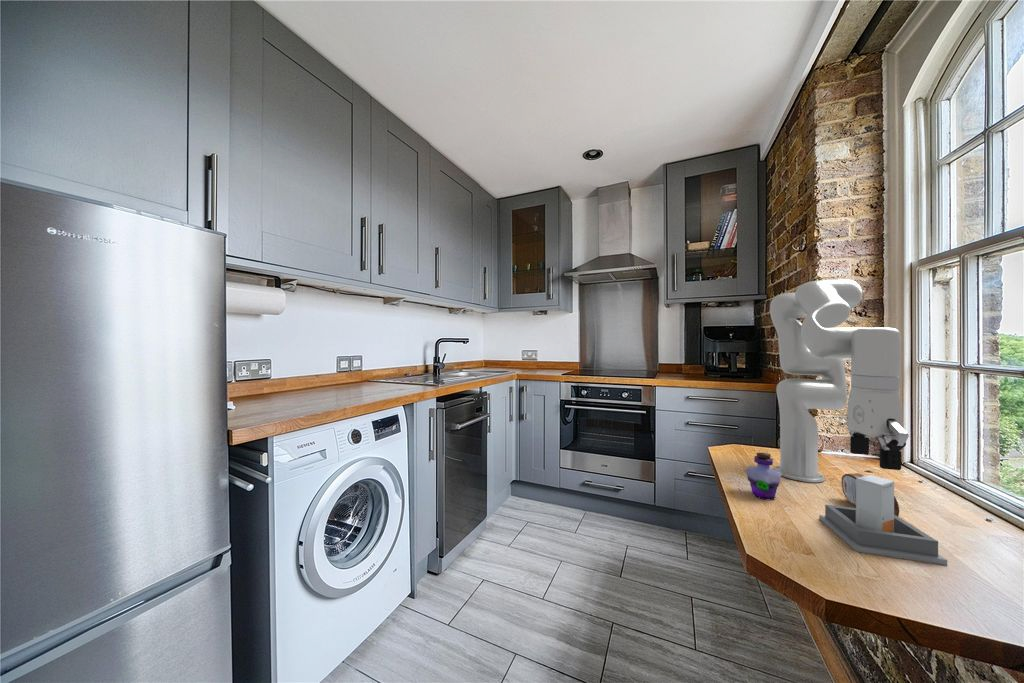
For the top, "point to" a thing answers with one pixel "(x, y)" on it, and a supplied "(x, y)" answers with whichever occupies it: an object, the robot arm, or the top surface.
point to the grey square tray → (882, 537)
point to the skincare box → (875, 503)
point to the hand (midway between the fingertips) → (873, 460)
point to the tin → (850, 490)
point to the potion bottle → (763, 477)
